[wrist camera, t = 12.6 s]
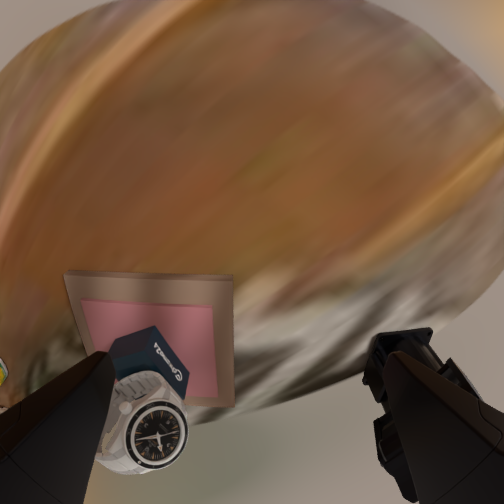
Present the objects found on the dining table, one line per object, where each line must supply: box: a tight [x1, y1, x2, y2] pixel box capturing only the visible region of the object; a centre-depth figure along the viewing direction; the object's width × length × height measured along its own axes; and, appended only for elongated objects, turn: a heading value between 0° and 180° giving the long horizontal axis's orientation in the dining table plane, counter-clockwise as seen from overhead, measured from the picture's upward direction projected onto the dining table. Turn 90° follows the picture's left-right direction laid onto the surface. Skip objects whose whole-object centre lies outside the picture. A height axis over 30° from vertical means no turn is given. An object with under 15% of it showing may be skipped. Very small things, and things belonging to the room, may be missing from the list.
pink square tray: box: [63, 270, 235, 407], centre depth 23 cm, size 14×14×1 cm
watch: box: [95, 325, 190, 475], centre depth 17 cm, size 6×8×11 cm
